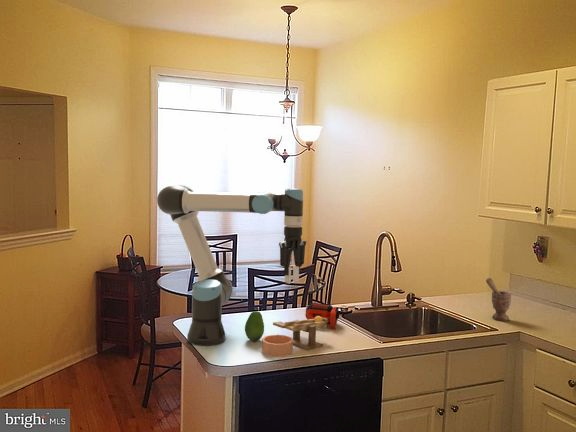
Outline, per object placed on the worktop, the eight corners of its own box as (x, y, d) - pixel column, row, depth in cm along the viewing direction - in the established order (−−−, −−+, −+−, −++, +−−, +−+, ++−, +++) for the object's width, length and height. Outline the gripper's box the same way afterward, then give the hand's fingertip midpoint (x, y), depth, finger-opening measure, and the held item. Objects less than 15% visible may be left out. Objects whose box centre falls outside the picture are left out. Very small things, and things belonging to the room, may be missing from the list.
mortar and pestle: (494, 322, 250) (496, 280, 249) (481, 317, 258) (483, 277, 257) (513, 320, 254) (516, 279, 253) (500, 316, 262) (502, 276, 261)
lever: (292, 334, 203) (294, 323, 203) (272, 327, 212) (273, 316, 212) (327, 330, 216) (328, 319, 216) (307, 323, 225) (307, 313, 225)
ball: (317, 324, 214) (319, 316, 215) (312, 322, 217) (313, 314, 217) (323, 325, 216) (324, 317, 217) (317, 323, 219) (319, 315, 219)
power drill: (310, 299, 249) (341, 302, 244) (310, 317, 250) (341, 321, 246) (301, 309, 235) (334, 312, 230) (301, 328, 236) (334, 332, 232)
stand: (307, 350, 205) (308, 328, 204) (285, 341, 214) (286, 321, 214) (322, 346, 210) (323, 325, 209) (300, 338, 220) (300, 318, 219)
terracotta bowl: (275, 358, 195) (275, 346, 195) (255, 350, 204) (256, 338, 203) (298, 352, 203) (299, 340, 202) (278, 344, 211) (279, 333, 211)
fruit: (268, 340, 216) (268, 311, 215) (254, 344, 210) (254, 314, 209) (254, 336, 221) (255, 307, 220) (240, 340, 215) (240, 311, 214)
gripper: (283, 228, 211) (282, 286, 213) (314, 226, 222) (312, 281, 224) (271, 226, 216) (270, 283, 218) (302, 224, 228) (300, 278, 229)
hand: (291, 282), depth 221 cm, fingers open, 4 cm apart
